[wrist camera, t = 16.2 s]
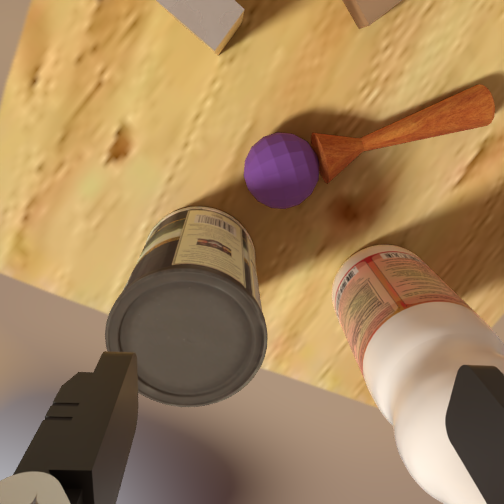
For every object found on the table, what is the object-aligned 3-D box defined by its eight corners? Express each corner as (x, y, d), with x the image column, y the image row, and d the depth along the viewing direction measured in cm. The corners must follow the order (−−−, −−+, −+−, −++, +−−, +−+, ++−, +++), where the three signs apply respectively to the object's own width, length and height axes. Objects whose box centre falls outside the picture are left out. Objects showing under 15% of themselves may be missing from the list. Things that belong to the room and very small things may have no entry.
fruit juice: (412, 226, 42) (707, 474, 16) (437, 310, 45) (715, 630, 19) (315, 263, 43) (444, 555, 17) (346, 343, 46) (494, 690, 20)
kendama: (504, 151, 36) (262, 230, 36) (462, 130, 41) (249, 200, 41) (506, 74, 33) (241, 161, 33) (460, 61, 38) (230, 137, 38)
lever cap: (245, 18, 35) (248, 3, 28) (218, 55, 36) (214, 50, 29) (199, -24, 34) (190, -51, 27) (172, 16, 35) (156, 0, 28)
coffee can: (154, 314, 44) (121, 415, 31) (135, 211, 41) (88, 277, 27) (260, 304, 44) (273, 400, 31) (251, 200, 41) (261, 260, 27)
